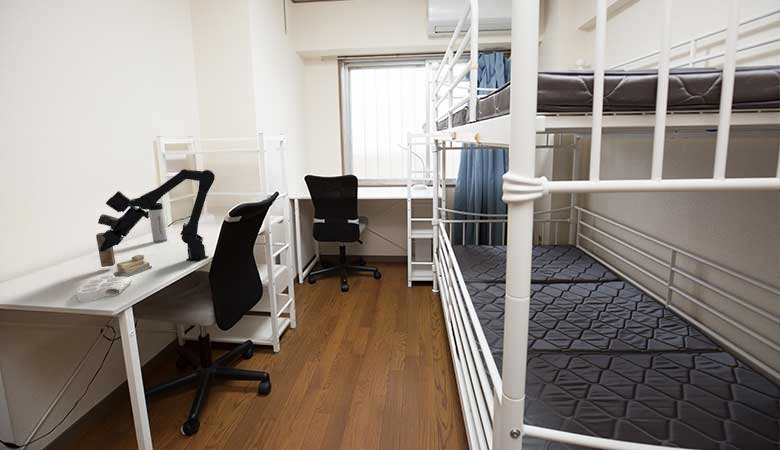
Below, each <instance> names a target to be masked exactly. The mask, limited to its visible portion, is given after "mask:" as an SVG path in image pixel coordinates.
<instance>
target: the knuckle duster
mask: <svg viewBox="0 0 780 450" xmlns="http://www.w3.org/2000/svg"><path fill="white" fill-rule="evenodd" d="M132 283H133V279H132V278H131V277H130V276H128V277H124V276H116V275H114V274H106V275H100V276H96V277H95V278H93V279H92V280H88V281H85V282H84V284H82V285H80V286H79V287H78V290H76V291H75V292H74V294H77V299H78V300H77V301H78V302H92V301H95V300H98V299H100V298H103V297H112V296H117V295H119V294H121V292H122V291H123V290H125V289H126V288H127V287H128V286H129V285H130V284H132Z"/></svg>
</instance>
